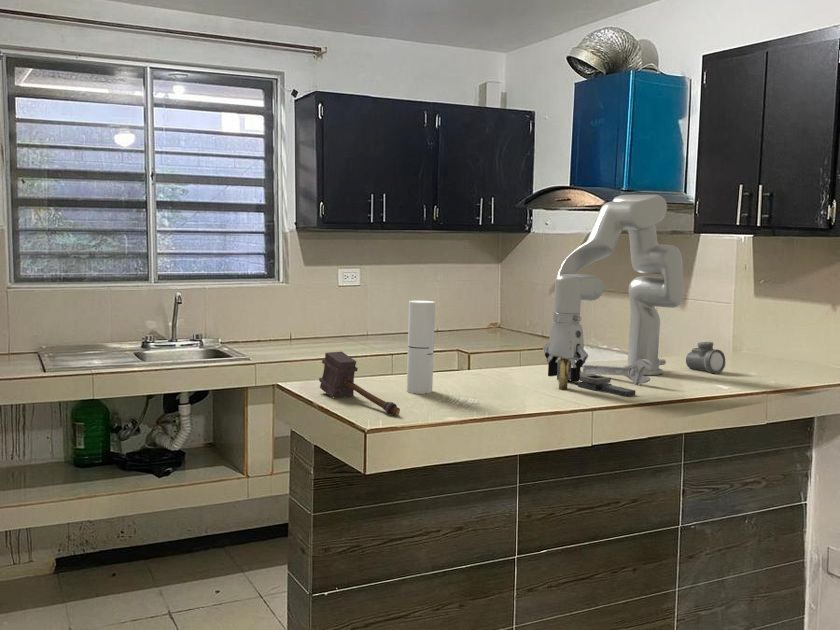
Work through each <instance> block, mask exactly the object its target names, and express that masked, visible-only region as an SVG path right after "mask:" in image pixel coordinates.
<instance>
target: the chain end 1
mask: <svg viewBox="0 0 840 630" xmlns="http://www.w3.org/2000/svg"><path fill="white" fill-rule="evenodd" d="M557 362H558V368H557V376H556V380H557V381H559V376H560V358H558V359H557ZM571 368H572V364H571V361H570V359H569V365H568V381H570V376H571ZM579 382H587V383H591V384H603V383H609V384H611V377H608V376H605V375H601V374H586V373H582V372H580V380H579Z"/></svg>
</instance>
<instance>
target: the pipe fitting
mask: <svg viewBox="0 0 840 630" xmlns="http://www.w3.org/2000/svg"><path fill="white" fill-rule="evenodd" d="M696 346H697V347H694V348H692V349H691V351H690V352H688V353H687V354H686V357H685V365H686V366H687V367H688V369H690V370H691V369H692V370H702V371H703V370H704V371H705V370H706V371H707V372H708V373H711V374H717V375H718V374H720V373H722V372H723V371H724V369H725V366H726V356H725V354H724V352H723V351H722V350H721V349H714V342H713V341H702V342H698V343H697V345H696Z"/></svg>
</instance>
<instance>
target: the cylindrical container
mask: <svg viewBox="0 0 840 630" xmlns="http://www.w3.org/2000/svg"><path fill="white" fill-rule="evenodd" d="M435 313H436V301H431V300H417V299H416V300H409V301H408V325H407V326H408V327H407V328H408V331H407V357H406V358H407V363H406V364H407V365H406V392H407V393H409V392H410V394H415V393H416V394H420V395H425V393H427V394H431V393H433V381H434V380H433V376H434V348H435V347H434V346H435V342H434V341H435Z"/></svg>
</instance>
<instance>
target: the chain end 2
mask: <svg viewBox="0 0 840 630" xmlns="http://www.w3.org/2000/svg"><path fill="white" fill-rule="evenodd" d="M577 387H578V388H581V389H586V390H590V391H596V392H597V391H599V392H600V391H601V392H604V393H608V394H612V395H616V396H617V395H618V396H619V397H625V398H626V397H634V396H636V390H634V389H630V388H626V387H621V386H617V385H613V384H612V383H603V384H591V383H587V382H583V381H577Z"/></svg>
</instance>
